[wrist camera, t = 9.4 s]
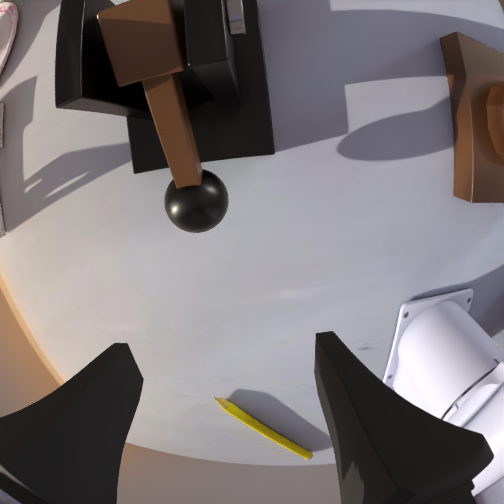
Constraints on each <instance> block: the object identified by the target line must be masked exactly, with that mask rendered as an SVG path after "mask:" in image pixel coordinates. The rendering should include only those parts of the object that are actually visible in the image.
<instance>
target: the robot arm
mask: <svg viewBox="0 0 504 504" xmlns="http://www.w3.org/2000/svg"><path fill="white" fill-rule="evenodd" d="M473 295H474V291H473V290H472V289H471V288H469V289H465V290H461V291H457V292H452V293H448V294H443V295H439V296H434V297H429V298H424V299H419V300H414V301H409V302H405V303H404V304H403V305H402V306H401V308H400V314H399V319H398V323H397V328H396V333H395V337H394V341H393V346H392V350H391V354H390V358H389V361H388V365H387V369H386V372H385V376H384V379H383V382H382V381H381V380H380V379H379V378H378V377H376V376H375V375H374V374H373V373H372V372H371V371H370V370H369V369H368V368H367V367H366V366H365V365H364V364H363V363H362V362H361V361H360V360H359V359H358V358H357V357H356V356H355V355H354V354H353V353H352V352H351V351H350V350H349V349H348V348H347V347H346V345H345V344H344V343H343V342H342V341H341V340H340V339H339V337H338V336H337V335H336V334H335V333H334V332H333V331H329V332H322V333H316V345H315V370H314V373H315V379H316V385H317V391H318V396H319V400H320V403H321V406H322V410H323V413H324V416H325V420H326V423H327V427H328V430H329V433H330V437H331V440H332V444H333V448H334V453H335V459H336V465H337V472H338V479H339V486H340V496H341V504H504V352H503V351H502V350H501V348H500V347H499V346H498V345H497V344H496V343H495V342H494V341H493V340H492V338H491V337H490V336H489V335H488V334H487V333H486V332H485V331H484V330H483V329H482V328H481V327H480V326H479V325H478V324H477V323H476V321H475V320H474V319H473V318H472V317H471V316H470V315H469V314H468V312H469V309H470V306H471V302H472V299H473ZM405 313H406V314H405ZM404 314H405V315H404ZM143 380H144V379H143V377H142V375H141V373H140V370H139V368H138V366H137V364H136V362H135V360H134V357H133V355H132V353H131V350H130V348H129V346H128V343H114V344H113V345H111V346H110V347H109V348H107V349H106V350H105V351H104V352H102V353H101V354H100V355H99V356H98V357H96V358H95V359H94V360H93V361H92V362H90V363H89V364H88V365H87V366H86V367H84V368H83V369H82V370H81V371H80V372H78V373H77V374H76V375H75V376H73V377H72V378H71V379H70V380H68V381H67V382H66V383H64V384H63V385H62V386H60V387H59V388H58V389H56V390H55V391H53V392H52V393H50V394H49V395H47V396H46V397H44V398H42V399H41V400H39V401H37V402H36V403H33V404H31V405H29V406H28V407H25V408H24V409H21V410H19V411H17V412H14V413H12V414H9V415H7V416H4V417H1V418H0V504H116V502H117V485H118V476H119V468H120V463H121V457H122V452H123V448H124V444H125V441H126V438H127V435H128V432H129V429H130V426H131V423H132V421H133V418H134V415H135V412H136V409H137V406H138V403H139V400H140V396H141V391H142V386H143ZM389 386H393V387H394V389H395V391H396V392H395V391H393V390H392V389H391V388H390V387H389Z"/></svg>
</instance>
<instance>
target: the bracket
mask: <svg viewBox="0 0 504 504" xmlns="http://www.w3.org/2000/svg"><path fill="white" fill-rule="evenodd" d="M3 110H4V104H0V147H3ZM5 235H6V234H5V229H4V223H3V217H2V211H1V204H0V238H1V237H3V236H5Z"/></svg>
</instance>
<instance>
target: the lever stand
mask: <svg viewBox="0 0 504 504" xmlns="http://www.w3.org/2000/svg"><path fill="white" fill-rule="evenodd" d="M183 1H184V20H185V36H186V50H187V62H188V63H187V65H186V67H185V69H184V70H183V71H180V72H178V73H179V77H180V82H181V86H182V90H183V95H184V99H185V103H186V107H187V111H188V115H189V120H190V124H191V128H192V132H193V136H194V140H195V144H196V148H197V152H198V156H199V160H200V163H201V162H209V161H216V160H224V159H233V158H242V157H252V156H263V155H274V154H275V150H274V139H273V129H272V119H271V110H270V101H269V92H268V83H267V74H266V66H265V58H264V50H263V42H262V35H261V28H260V20H259V13H258V7H257V0H183ZM113 6H116V5H115V4H113V3H112V2H111V1H110V0H62V1H61V7H60V14H59V22H58V31H57V42H56V59H55V104H56V108H61V109H72V110H82V111H90V112H98V113H106V114H113V115H119V116H126V117H127V126H128V135H129V143H130V151H131V158H132V165H133V172H134V174H137V173H142V172H147V171H153V170H158V169H164V168H169V165H168V162H167V159H166V156H165V153H164V150H163V147H162V144H161V141H160V138H159V135H158V132H157V129H156V126H155V123H154V120H153V117H152V114H151V111H150V107H149V104H148V101H147V98H146V95H145V91H144V88H143V85H142V81H139V82H135V83H132V84H128V85H125V86H122V87H119V86H118V85H117V82H116V79H115V76H114V73H113V70H112V66H111V63H110V60H109V57H108V54H107V50H106V47H105V44H104V40H103V37H102V34H101V30H100V26H99V23H98V19H97V13H99V12H100V11H103V10H105V9H108V8H110V7H113Z"/></svg>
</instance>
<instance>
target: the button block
mask: <svg viewBox="0 0 504 504" xmlns="http://www.w3.org/2000/svg"><path fill="white" fill-rule="evenodd" d="M440 42H441V47H442V51H443V56H444V61H445V66H446V71H447V77H448V84H449V91H450V99H451V108H452V119H453V133H454V196H455V197H458V198H461V199H463V200H466V201H468V202H471V203H504V53H502V52H500V51H498V50H496V49H494V48H492V47H490V46H488V45H486V44H484V43H482V42H480V41H477V40H475V39H473V38H471V37H468V36H466V35H463V34H461V33H458V32H454V33H452V34H449V35H447V36H444V37H442V38H440Z"/></svg>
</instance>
